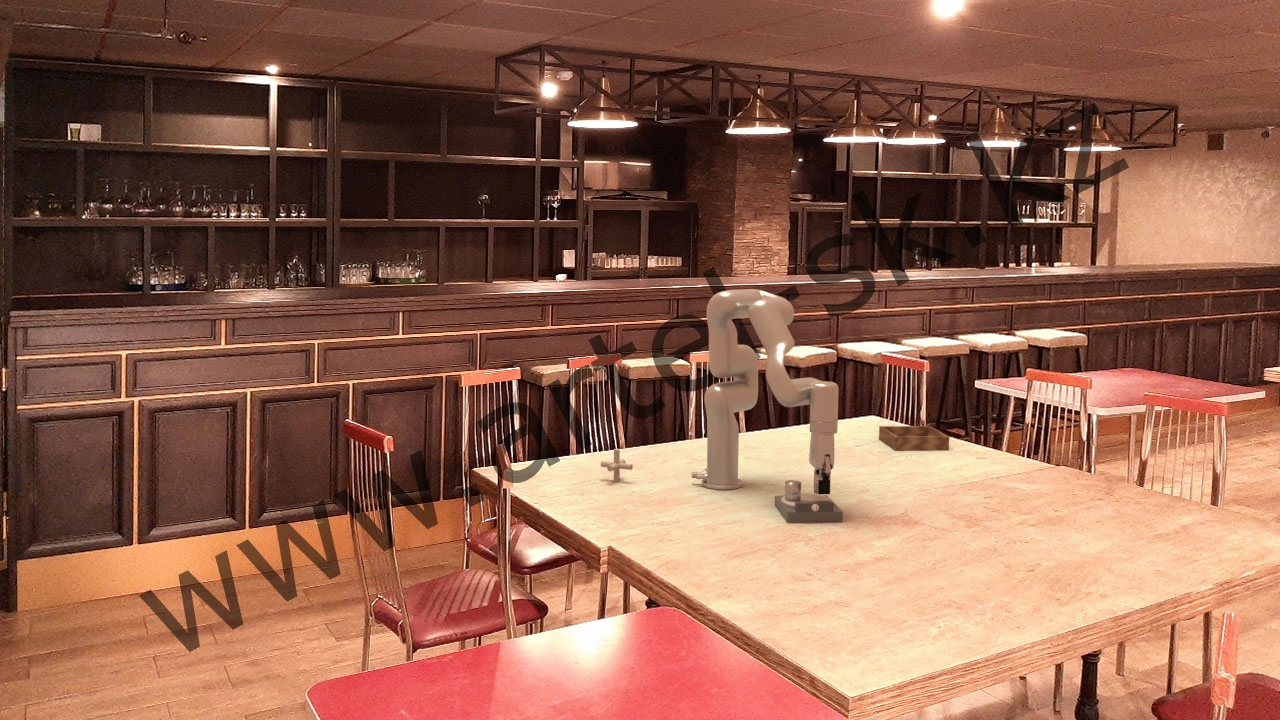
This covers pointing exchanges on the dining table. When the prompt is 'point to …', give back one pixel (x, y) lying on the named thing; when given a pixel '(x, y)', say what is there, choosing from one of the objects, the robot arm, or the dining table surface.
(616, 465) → the pipe connector
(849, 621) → the dining table surface
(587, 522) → the dining table surface
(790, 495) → the cylinder
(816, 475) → the cylinder
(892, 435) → the brown wooden tray
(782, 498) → the scale
